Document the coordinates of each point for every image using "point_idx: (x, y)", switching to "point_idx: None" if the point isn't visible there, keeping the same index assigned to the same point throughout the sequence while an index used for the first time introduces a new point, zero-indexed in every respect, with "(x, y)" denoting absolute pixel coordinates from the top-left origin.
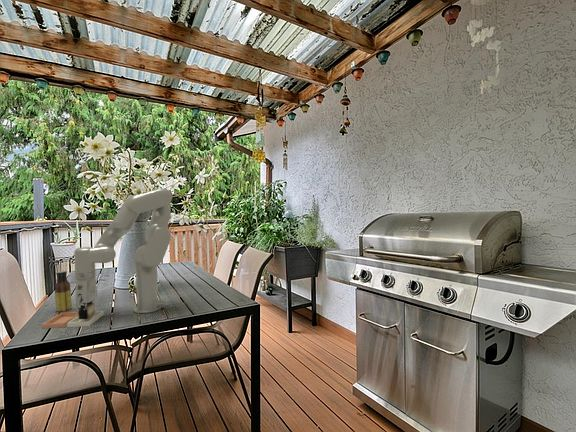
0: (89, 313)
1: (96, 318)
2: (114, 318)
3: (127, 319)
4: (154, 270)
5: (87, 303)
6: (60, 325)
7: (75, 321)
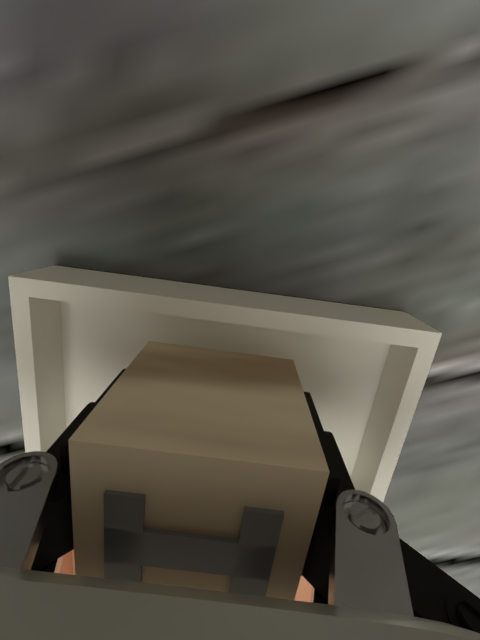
0: (303, 400)
1: (240, 299)
2: (160, 100)
3: None
4: None
5: (50, 570)
6: None
7: None
